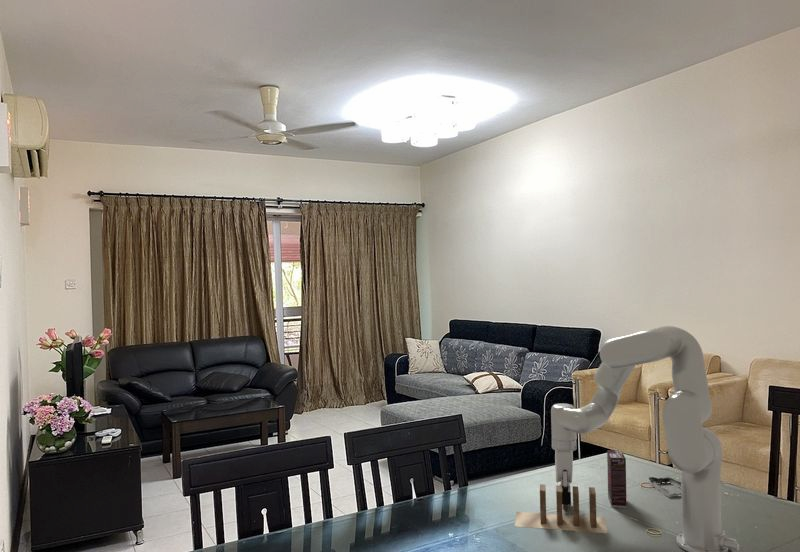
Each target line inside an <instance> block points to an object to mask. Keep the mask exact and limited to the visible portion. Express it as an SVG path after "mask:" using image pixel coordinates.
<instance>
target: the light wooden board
mask: <svg viewBox="0 0 800 552" xmlns="http://www.w3.org/2000/svg"><path fill="white" fill-rule="evenodd" d="M562 515H563V525H557V513H546V524H541V520H540V512H527V511H516V515H515V521H514V527H518V528H529V529H530V528H531V529H545V530H557V531H558V530H559V531H571V532H572V531H573V532H584V533H585V532H586V533H596V534H597V533H598V534H601V533H602V534H608V529H607V528H608V527H607V524H606V520H605V517H600V516H596V521H597V528H591V525H590V515H589V516H585V515H579V522H580V527H576V526H574V521H573V514H562Z"/></svg>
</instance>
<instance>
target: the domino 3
mask: <svg viewBox="0 0 800 552" xmlns="http://www.w3.org/2000/svg"><path fill="white" fill-rule="evenodd" d="M562 482H563V480H562ZM567 482H568V480H567ZM562 486H563V484H562ZM567 486H568V484H567ZM562 511H569V505H562Z"/></svg>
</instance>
